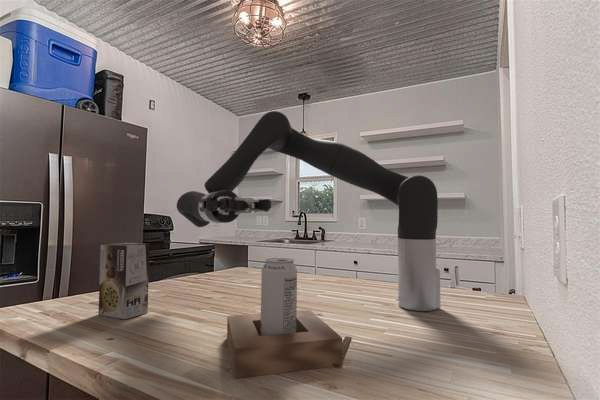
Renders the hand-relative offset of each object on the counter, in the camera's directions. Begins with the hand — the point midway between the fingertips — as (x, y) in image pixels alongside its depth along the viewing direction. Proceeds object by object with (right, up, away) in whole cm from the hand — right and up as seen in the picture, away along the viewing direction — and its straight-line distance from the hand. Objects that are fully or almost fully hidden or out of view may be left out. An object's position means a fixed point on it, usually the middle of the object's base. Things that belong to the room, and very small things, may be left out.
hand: (250, 203), depth 65 cm
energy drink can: (+6, -25, -10) cm, 27 cm away
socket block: (+6, -24, -10) cm, 27 cm away
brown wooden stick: (+17, -25, -11) cm, 32 cm away
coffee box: (-31, -26, +10) cm, 41 cm away
